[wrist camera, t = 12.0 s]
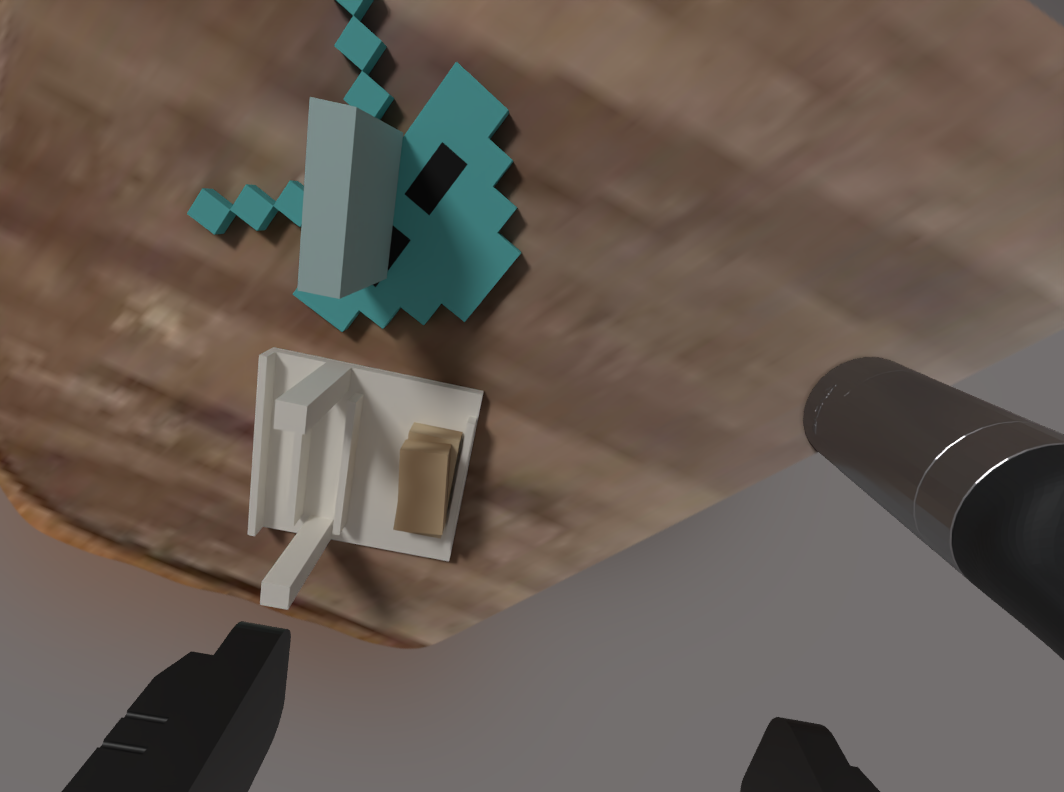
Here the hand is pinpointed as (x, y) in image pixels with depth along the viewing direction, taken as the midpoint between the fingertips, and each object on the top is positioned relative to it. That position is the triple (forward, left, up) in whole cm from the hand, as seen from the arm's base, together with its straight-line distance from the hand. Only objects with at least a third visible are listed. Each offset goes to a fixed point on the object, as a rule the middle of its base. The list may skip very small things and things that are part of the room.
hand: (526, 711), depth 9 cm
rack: (+11, +15, -36) cm, 41 cm away
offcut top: (+6, +14, -33) cm, 37 cm away
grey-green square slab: (+12, -6, -35) cm, 37 cm away
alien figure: (+12, -6, -37) cm, 40 cm away
